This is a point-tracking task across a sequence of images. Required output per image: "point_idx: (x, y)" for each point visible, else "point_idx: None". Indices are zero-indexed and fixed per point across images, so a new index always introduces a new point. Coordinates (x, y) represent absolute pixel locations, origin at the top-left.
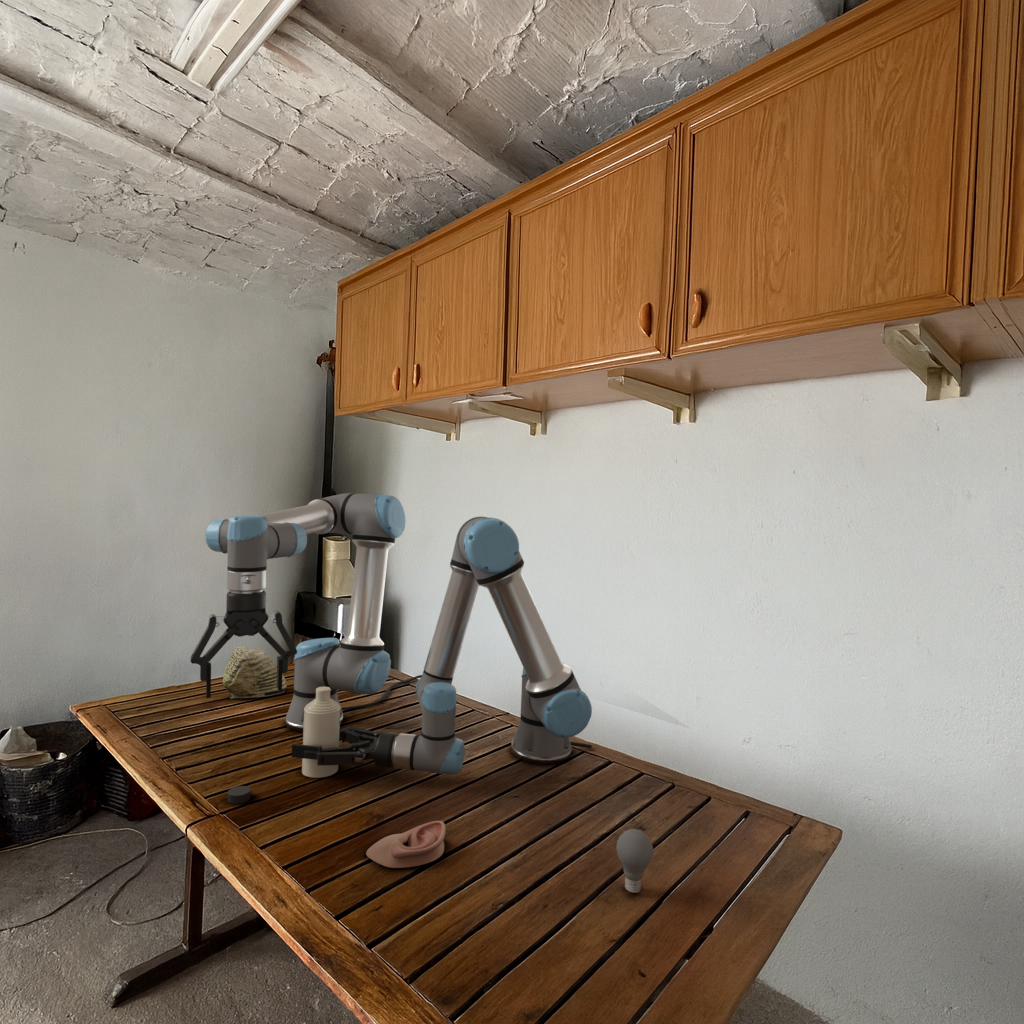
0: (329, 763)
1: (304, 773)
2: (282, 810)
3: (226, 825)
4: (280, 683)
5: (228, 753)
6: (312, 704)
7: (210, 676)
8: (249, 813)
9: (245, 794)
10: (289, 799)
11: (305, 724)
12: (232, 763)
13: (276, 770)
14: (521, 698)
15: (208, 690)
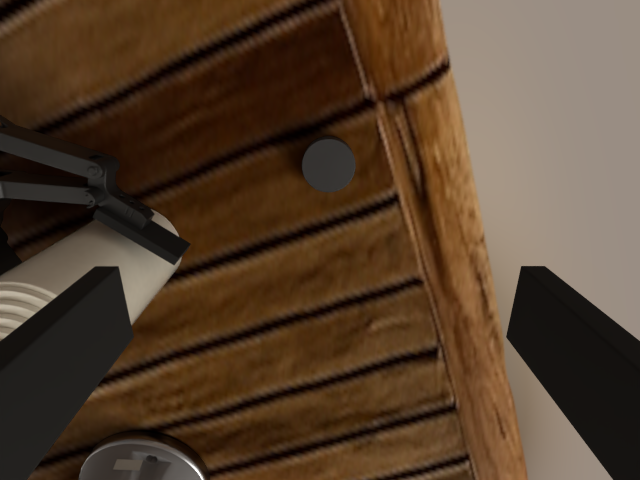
0: (81, 147)
1: (174, 232)
2: (234, 56)
3: (368, 27)
4: (79, 287)
5: (331, 390)
6: None
7: (626, 353)
8: (311, 73)
9: (316, 141)
10: (215, 113)
11: None
12: (327, 343)
13: (238, 278)
14: None
15: (562, 290)
